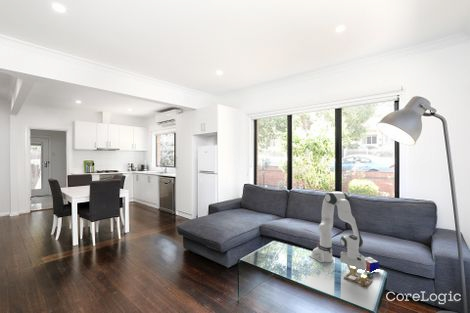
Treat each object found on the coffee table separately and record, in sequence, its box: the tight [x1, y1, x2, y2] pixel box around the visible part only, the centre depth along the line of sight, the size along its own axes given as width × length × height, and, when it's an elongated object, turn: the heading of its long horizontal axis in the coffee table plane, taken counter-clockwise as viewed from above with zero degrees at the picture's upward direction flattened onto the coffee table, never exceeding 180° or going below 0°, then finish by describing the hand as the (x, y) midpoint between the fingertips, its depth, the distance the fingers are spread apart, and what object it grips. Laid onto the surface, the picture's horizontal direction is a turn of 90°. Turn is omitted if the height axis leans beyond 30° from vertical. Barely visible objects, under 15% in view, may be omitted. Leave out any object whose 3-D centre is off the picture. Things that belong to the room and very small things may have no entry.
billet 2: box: [359, 274, 368, 285], centre depth 188 cm, size 4×5×6 cm
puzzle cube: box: [365, 256, 380, 272], centre depth 207 cm, size 10×10×10 cm
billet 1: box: [349, 265, 357, 277], centre depth 195 cm, size 4×5×6 cm
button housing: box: [365, 272, 374, 280], centre depth 196 cm, size 5×5×3 cm
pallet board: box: [343, 271, 373, 289], centre depth 191 cm, size 18×12×2 cm, turn 41°
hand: (352, 270), depth 194 cm, fingers closed on billet 1, 3 cm apart
